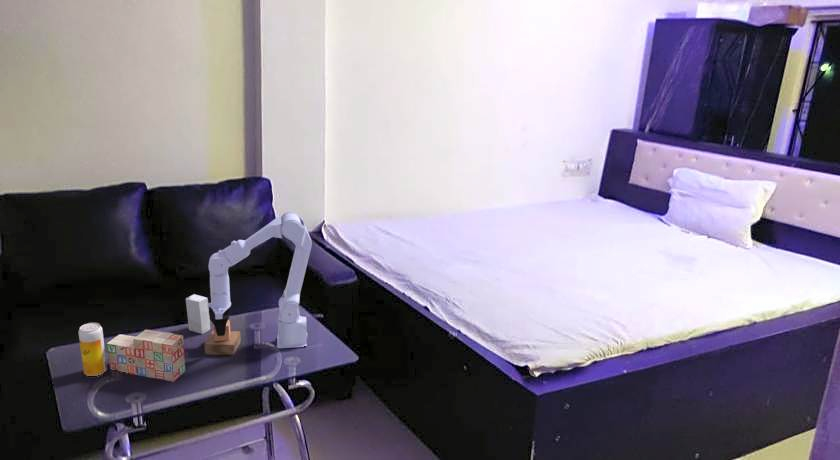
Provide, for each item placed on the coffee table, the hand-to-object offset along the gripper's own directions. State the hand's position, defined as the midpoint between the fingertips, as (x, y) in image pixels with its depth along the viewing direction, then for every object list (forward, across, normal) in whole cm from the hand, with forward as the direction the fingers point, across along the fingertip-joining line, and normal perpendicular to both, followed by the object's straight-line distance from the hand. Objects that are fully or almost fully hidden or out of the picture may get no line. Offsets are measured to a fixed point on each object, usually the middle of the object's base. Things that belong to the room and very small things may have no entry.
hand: (222, 329), depth 196 cm
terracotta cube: (+3, 0, 0) cm, 3 cm away
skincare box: (+7, -13, -9) cm, 17 cm away
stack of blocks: (+7, +12, -20) cm, 25 cm away
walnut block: (+7, 0, 0) cm, 7 cm away
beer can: (+7, +11, -35) cm, 37 cm away
